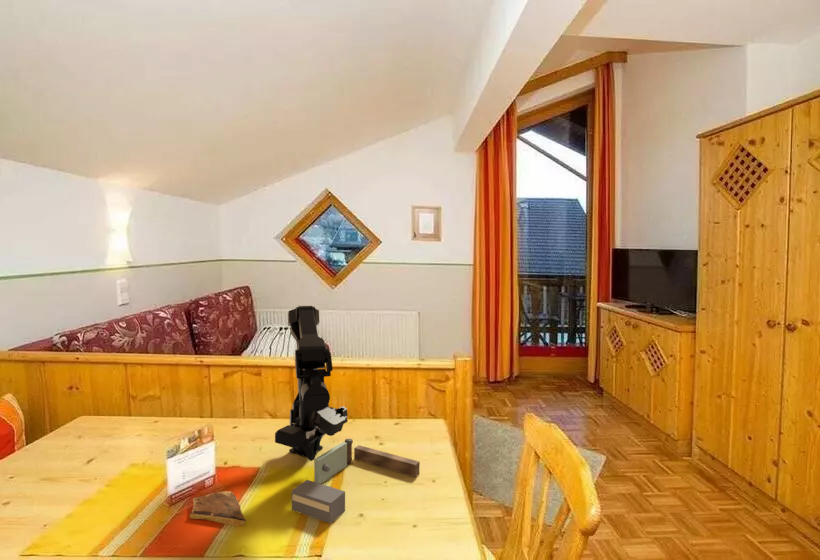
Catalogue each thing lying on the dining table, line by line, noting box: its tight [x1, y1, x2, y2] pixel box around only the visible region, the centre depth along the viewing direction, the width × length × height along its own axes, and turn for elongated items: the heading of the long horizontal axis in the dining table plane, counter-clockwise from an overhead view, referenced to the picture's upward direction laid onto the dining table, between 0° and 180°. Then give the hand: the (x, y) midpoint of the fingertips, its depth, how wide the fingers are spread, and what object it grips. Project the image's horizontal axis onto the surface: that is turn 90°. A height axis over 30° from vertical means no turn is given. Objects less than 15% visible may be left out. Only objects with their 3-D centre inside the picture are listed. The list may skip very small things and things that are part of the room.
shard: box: [189, 490, 247, 526], centre depth 95 cm, size 13×9×2 cm
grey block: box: [291, 479, 346, 524], centre depth 98 cm, size 10×5×4 cm, turn 64°
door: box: [313, 441, 348, 484], centre depth 112 cm, size 11×2×6 cm, turn 151°
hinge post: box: [344, 438, 354, 466], centre depth 119 cm, size 2×2×6 cm
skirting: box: [353, 444, 420, 478], centre depth 118 cm, size 18×2×3 cm, turn 61°
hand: (311, 460), depth 112 cm, fingers closed
